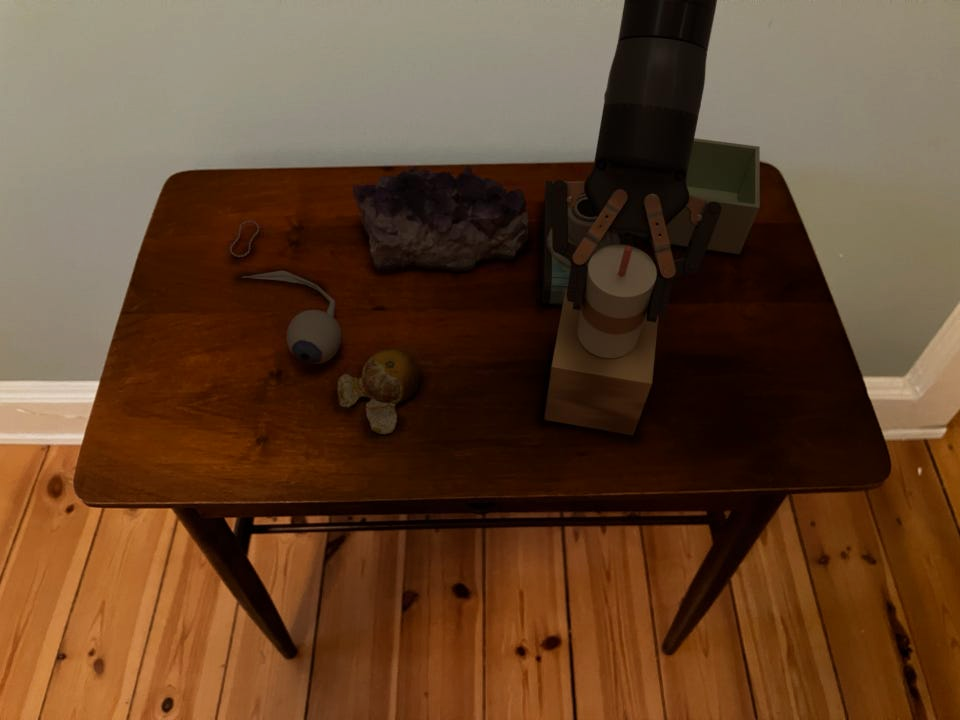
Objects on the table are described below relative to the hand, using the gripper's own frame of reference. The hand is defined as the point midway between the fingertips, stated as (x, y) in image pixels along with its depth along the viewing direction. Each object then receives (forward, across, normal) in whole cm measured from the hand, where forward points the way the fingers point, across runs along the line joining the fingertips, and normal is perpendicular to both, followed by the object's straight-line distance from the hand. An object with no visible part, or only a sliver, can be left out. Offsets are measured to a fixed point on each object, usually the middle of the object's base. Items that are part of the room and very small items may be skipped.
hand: (614, 314), depth 63 cm
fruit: (+13, -22, +9) cm, 27 cm away
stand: (+10, 0, +12) cm, 16 cm away
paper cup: (+3, 0, +5) cm, 6 cm away
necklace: (+1, -43, +21) cm, 48 cm away
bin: (-9, +9, +31) cm, 34 cm away
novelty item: (+8, -34, +14) cm, 38 cm away
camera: (-3, -3, +25) cm, 26 cm away
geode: (-2, -20, +24) cm, 32 cm away
